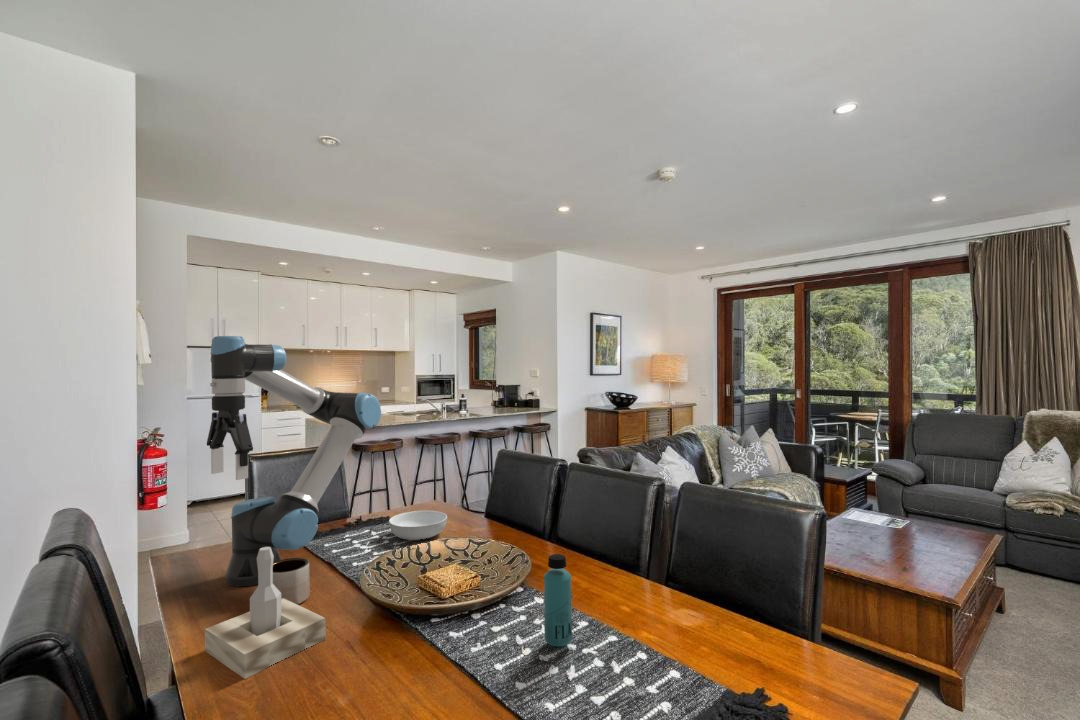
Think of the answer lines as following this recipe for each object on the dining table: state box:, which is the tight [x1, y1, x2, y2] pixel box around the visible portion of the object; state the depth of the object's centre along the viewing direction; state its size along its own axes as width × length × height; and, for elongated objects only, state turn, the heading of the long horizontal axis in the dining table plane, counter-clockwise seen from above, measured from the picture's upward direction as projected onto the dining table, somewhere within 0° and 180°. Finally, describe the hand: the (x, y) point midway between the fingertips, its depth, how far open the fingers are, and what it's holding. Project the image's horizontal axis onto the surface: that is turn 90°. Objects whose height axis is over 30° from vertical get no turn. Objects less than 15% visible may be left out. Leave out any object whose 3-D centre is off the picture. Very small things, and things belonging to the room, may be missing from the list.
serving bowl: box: [388, 510, 448, 541], centre depth 192 cm, size 21×21×7 cm
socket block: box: [204, 599, 327, 679], centre depth 118 cm, size 18×18×5 cm
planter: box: [273, 557, 311, 605], centre depth 141 cm, size 11×11×10 cm
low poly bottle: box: [249, 547, 281, 636], centre depth 118 cm, size 6×6×22 cm
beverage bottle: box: [543, 553, 574, 647], centre depth 117 cm, size 6×7×20 cm
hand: (229, 475), depth 137 cm, fingers open, 13 cm apart
